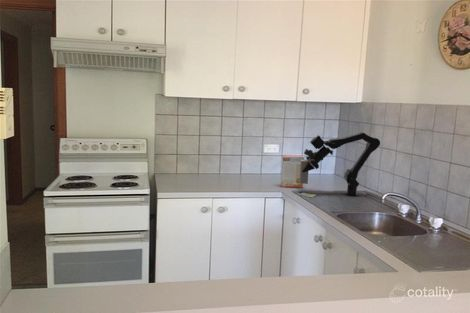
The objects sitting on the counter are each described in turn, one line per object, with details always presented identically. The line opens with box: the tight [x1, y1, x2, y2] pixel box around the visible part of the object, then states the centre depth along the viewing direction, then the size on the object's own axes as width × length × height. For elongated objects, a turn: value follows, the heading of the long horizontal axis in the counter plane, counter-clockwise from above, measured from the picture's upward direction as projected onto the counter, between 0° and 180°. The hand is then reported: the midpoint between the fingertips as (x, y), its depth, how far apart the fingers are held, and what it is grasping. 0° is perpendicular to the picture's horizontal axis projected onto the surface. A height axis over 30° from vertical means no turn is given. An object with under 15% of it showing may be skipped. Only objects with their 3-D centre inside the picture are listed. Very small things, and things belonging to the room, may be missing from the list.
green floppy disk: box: [299, 192, 316, 198], centre depth 257 cm, size 7×8×1 cm
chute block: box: [299, 159, 309, 185], centre depth 263 cm, size 4×4×14 cm
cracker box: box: [280, 154, 305, 189], centre depth 279 cm, size 14×6×21 cm, turn 92°
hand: (302, 171), depth 263 cm, fingers closed on chute block, 4 cm apart
